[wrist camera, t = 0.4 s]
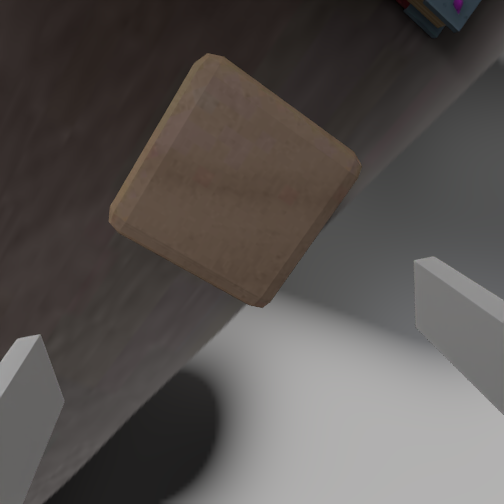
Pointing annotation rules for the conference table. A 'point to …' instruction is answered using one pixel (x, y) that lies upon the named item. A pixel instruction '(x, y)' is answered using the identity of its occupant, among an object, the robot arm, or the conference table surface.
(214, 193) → the block
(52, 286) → the conference table surface
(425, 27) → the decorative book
